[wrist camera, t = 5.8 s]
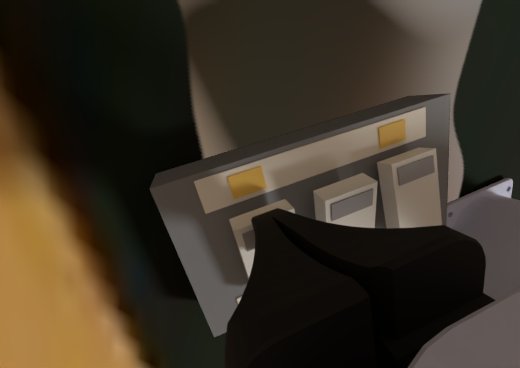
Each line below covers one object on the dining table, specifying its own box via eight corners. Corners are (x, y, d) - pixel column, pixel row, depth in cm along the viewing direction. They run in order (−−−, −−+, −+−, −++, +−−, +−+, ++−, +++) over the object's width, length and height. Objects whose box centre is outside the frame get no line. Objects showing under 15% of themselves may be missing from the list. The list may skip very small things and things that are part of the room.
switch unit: (412, 215, 21) (448, 233, 18) (209, 302, 18) (214, 340, 15) (409, 95, 18) (453, 93, 15) (155, 173, 14) (148, 190, 11)
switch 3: (426, 224, 16) (443, 230, 15) (388, 240, 16) (403, 249, 14) (418, 147, 15) (437, 148, 14) (376, 162, 14) (392, 164, 13)
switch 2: (360, 243, 16) (373, 255, 15) (319, 260, 15) (330, 274, 14) (362, 172, 13) (378, 181, 12) (313, 190, 13) (325, 202, 12)
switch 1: (299, 272, 15) (308, 287, 14) (252, 293, 14) (259, 309, 13) (284, 198, 13) (294, 209, 12) (228, 219, 12) (234, 231, 11)
